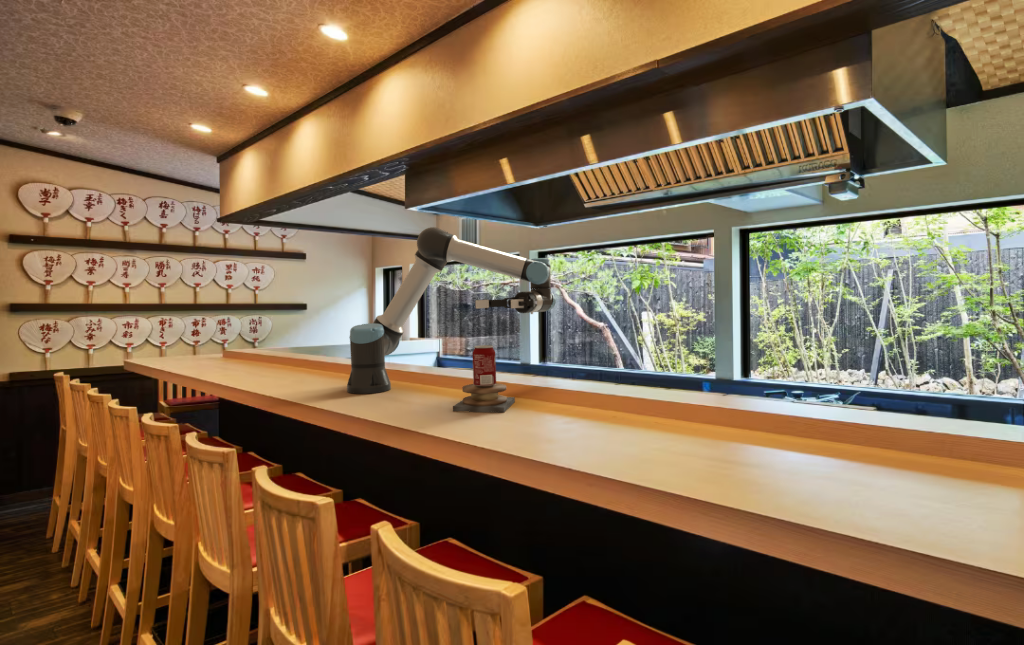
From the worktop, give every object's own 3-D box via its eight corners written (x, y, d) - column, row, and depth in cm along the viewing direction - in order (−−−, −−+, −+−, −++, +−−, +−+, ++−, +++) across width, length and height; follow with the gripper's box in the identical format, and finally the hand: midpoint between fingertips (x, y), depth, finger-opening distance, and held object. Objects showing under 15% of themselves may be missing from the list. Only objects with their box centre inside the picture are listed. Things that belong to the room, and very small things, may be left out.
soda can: (495, 388, 163) (494, 347, 162) (472, 388, 163) (471, 347, 162) (496, 384, 170) (495, 344, 169) (474, 384, 170) (473, 345, 169)
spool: (453, 411, 161) (452, 390, 161) (467, 401, 176) (467, 382, 175) (504, 412, 158) (503, 391, 158) (514, 402, 173) (514, 382, 172)
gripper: (559, 312, 191) (527, 315, 173) (498, 312, 205) (462, 315, 187) (558, 290, 191) (527, 291, 173) (497, 292, 204) (462, 293, 186)
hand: (493, 304), depth 180 cm, fingers open, 13 cm apart
